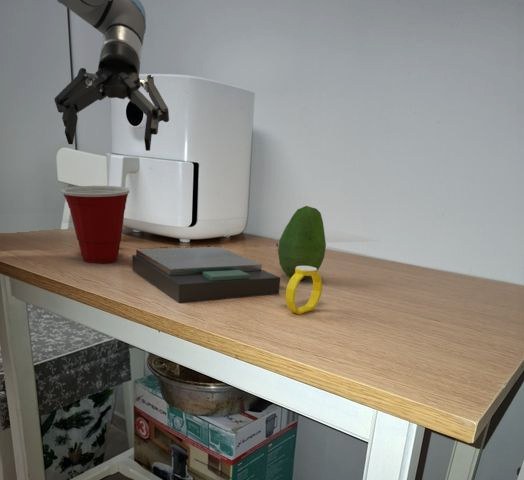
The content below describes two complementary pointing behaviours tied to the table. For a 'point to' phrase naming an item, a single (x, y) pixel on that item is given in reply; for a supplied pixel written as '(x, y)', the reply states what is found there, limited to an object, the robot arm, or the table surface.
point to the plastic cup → (97, 220)
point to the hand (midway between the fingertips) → (108, 141)
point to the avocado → (302, 241)
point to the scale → (203, 273)
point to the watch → (293, 283)
